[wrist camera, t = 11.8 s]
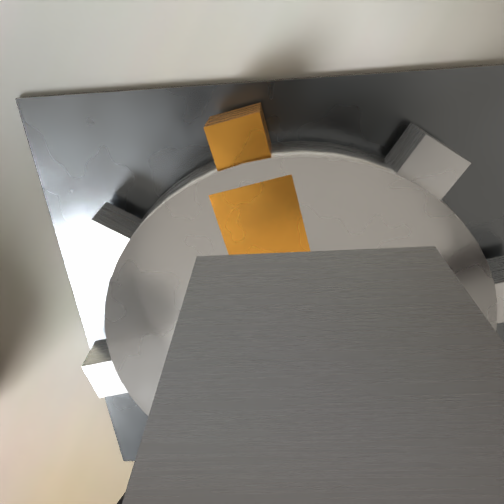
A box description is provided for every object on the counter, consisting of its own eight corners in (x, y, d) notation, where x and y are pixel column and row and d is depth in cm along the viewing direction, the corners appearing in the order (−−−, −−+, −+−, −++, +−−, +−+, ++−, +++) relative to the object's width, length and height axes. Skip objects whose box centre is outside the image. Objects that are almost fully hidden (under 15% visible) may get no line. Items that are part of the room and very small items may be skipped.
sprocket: (612, 250, 18) (778, 366, 12) (345, 496, 25) (368, 640, 19) (201, -11, 14) (152, -27, 8) (33, 368, 21) (-54, 498, 16)
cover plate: (480, 452, 24) (482, 455, 24) (124, 457, 25) (123, 461, 25) (575, 59, 15) (579, 59, 15) (18, 97, 16) (15, 98, 16)
